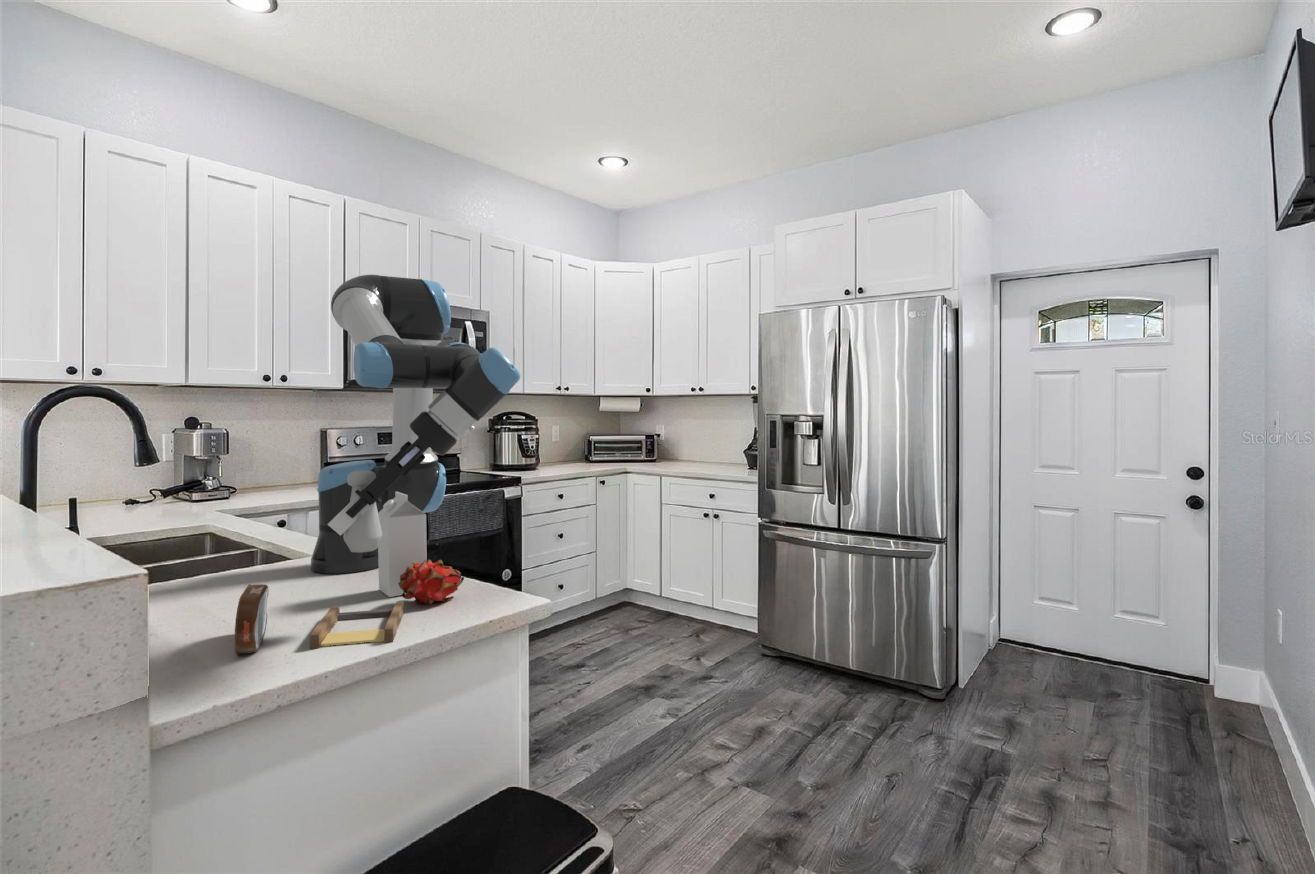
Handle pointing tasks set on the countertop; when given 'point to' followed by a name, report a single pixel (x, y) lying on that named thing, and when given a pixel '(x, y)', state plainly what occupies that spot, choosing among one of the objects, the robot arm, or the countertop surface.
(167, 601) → the countertop surface
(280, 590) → the countertop surface
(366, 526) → the salt shaker
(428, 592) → the dragon fruit
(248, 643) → the tin
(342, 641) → the yellow panel
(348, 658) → the countertop surface
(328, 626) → the channel
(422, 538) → the milk carton
